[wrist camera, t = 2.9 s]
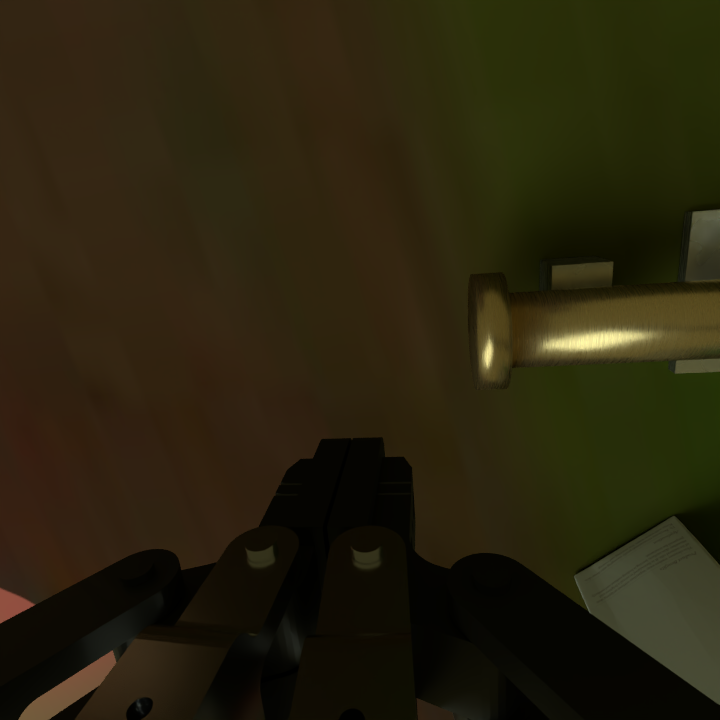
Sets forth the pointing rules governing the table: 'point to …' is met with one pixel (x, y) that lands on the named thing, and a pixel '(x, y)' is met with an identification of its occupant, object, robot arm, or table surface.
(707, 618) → the skincare box
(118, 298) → the table surface
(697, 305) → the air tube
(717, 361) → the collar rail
